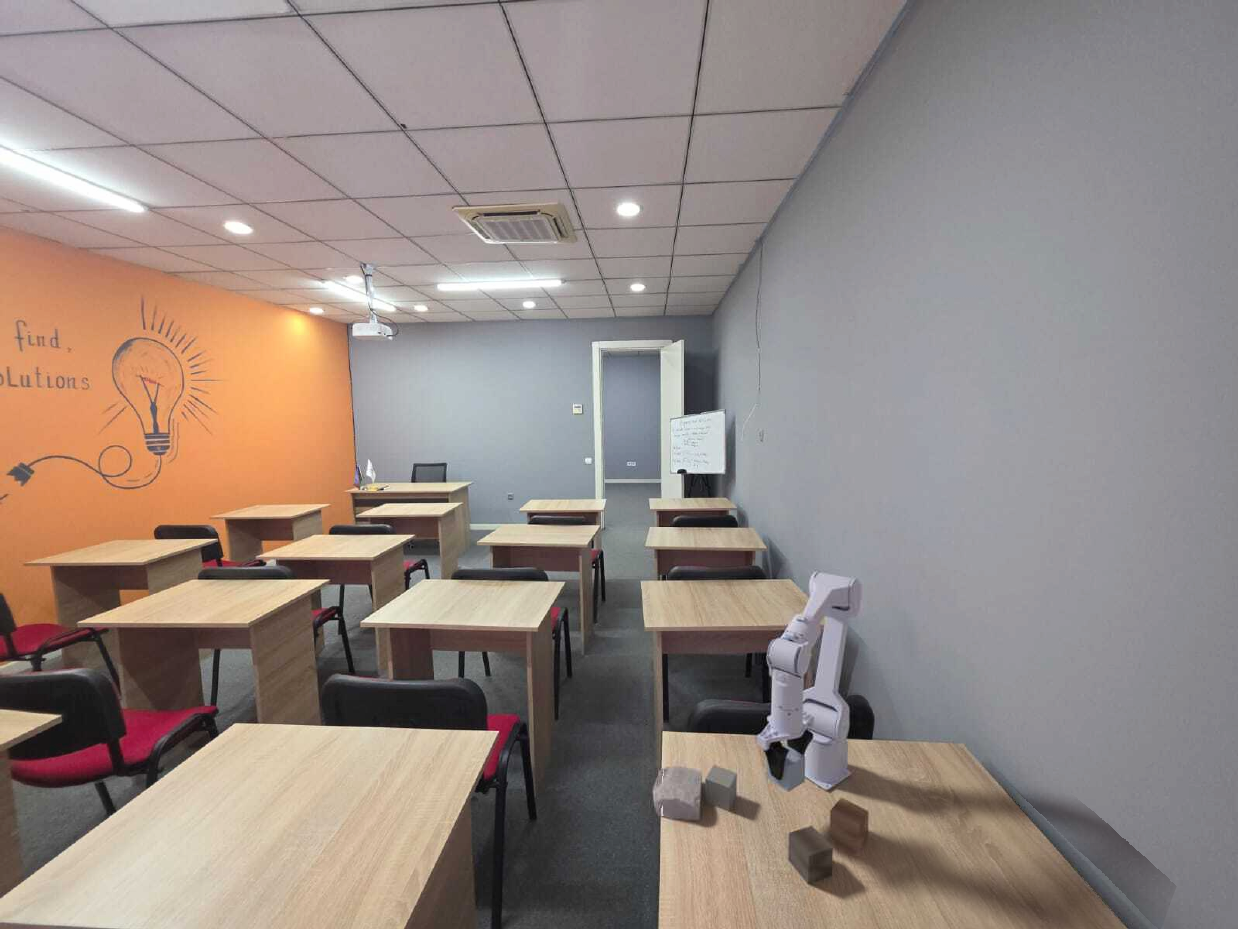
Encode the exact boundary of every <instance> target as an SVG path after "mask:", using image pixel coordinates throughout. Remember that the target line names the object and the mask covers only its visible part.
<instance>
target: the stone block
mask: <svg viewBox="0 0 1238 929" xmlns="http://www.w3.org/2000/svg"><path fill="white" fill-rule="evenodd" d="M663 770H664V772H663ZM663 773H664V776H663ZM702 774H703V773H702V771H701V770H697V769H695V768H690V767H686V766H681V765H679V766H678V765H672V766H671V765H670V766H665V768H661V769H660V770H659V771H658V776H657V777H656V779H655V782H654V784H653V788H652V799H653V800H652V801H653V803H654V804H653V806H654V809H655V812H656V814H657V815H658V816H659V817H662V816H661V808H662V806H663V815H664V816H665V817H664V818H665V819H669V820H683V821H694V822H699V820H700V818H701V800H702V799H701V798H702V780H703V779H702V778H703V776H702ZM662 776H663V782H662ZM662 784H663V785H662Z"/></svg>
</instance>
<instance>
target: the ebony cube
mask: <svg viewBox="0 0 1238 929" xmlns="http://www.w3.org/2000/svg"><path fill="white" fill-rule="evenodd" d="M833 849H834V848H833V846H832V845H831V844H830V843H829V842H828V841H827V840H826V839H825V837H823V836H822V835H821V834H820V833H819V831H818V830H817V829H816V828H815V827H814V826H813V825H810V826H806V827H803V828H800V829H797V830H794V831H790V832H788V851H787V852H788V855H787V856H788V861H789V863H790V864H791V865H792V866H793V868H794V869H795V870H796V871H797V872H798V874H799V875H800V876H801V878H802V879H803V880H804V881H805V882H806V884H807V885H810V884H813V883H815V882H818V881H821V880H824V879H826V878H829V877H832V876H833V859H834V858H833V853H834V852H833Z"/></svg>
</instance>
